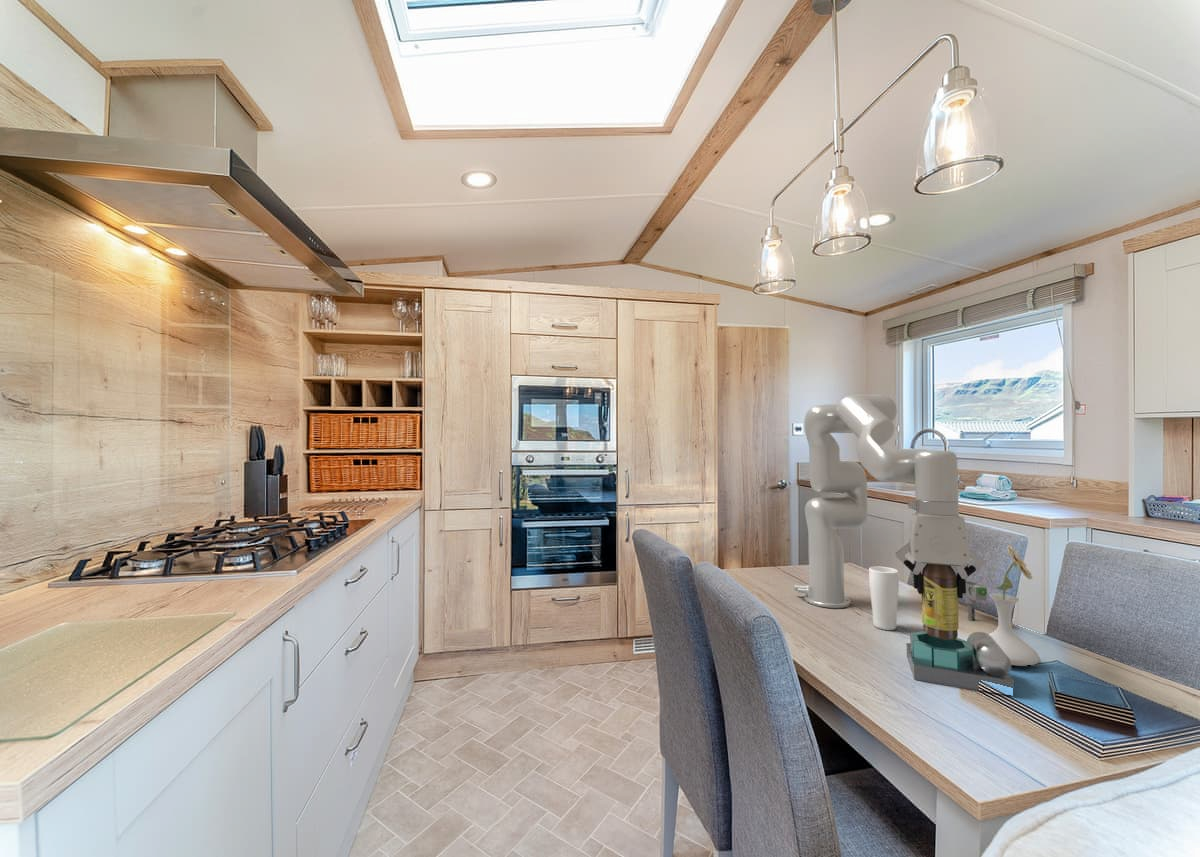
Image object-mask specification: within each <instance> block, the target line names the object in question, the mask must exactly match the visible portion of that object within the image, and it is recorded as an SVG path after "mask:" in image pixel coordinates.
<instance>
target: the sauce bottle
mask: <svg viewBox="0 0 1200 857" xmlns="http://www.w3.org/2000/svg"><path fill="white" fill-rule="evenodd" d="M921 574H922V576H923V594H921V620H922V621H921V623H922V624H923V627H922V628H923V630H922V631H924V632H925V633H927V634H929V635H930V636H932V637H935V638H939V639H944V640H953V639H956V638H958V637H959V636H958V635H959V634H958V632H959V631H958V630H959V600H958V598H959V597H958V588H957V576H956V575H957V572H956V571H955V570H954V568H953V567H952V566H950V565H938V564H926V563H925V566H923V567H922V570H921Z"/></svg>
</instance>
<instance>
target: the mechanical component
mask: <svg viewBox="0 0 1200 857" xmlns="http://www.w3.org/2000/svg"><path fill="white" fill-rule="evenodd" d="M987 595H988V588H987V587H986V586H984V585H981V584H979V583H977V582H975V581H969V580H968V581H967V580H966V594H963V597H965V600H964V603H966V605H967V620H968V619H969V620H968V621H976V608H975V607H976V605H977V604H978V602H977V601H987ZM973 619H974V620H973Z"/></svg>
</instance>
